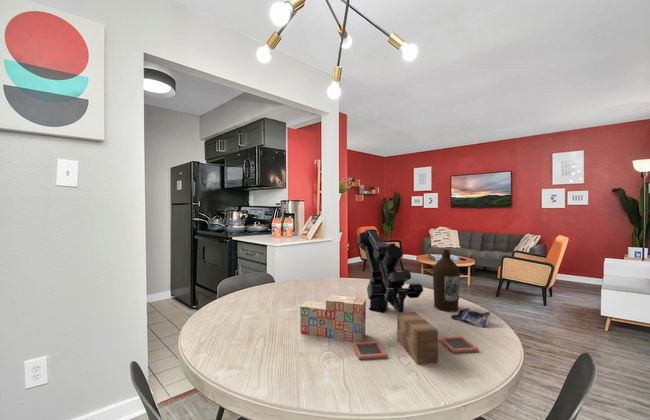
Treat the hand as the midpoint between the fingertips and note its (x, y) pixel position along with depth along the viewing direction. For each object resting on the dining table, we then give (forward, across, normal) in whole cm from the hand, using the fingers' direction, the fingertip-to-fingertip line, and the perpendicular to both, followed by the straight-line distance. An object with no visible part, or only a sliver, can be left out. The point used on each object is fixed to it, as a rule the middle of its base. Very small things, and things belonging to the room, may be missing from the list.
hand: (401, 314), depth 93 cm
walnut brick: (+12, 0, -2) cm, 13 cm away
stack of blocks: (+2, -23, +8) cm, 24 cm away
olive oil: (-11, +29, +21) cm, 38 cm away
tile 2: (+12, +14, -2) cm, 18 cm away
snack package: (-1, +30, +11) cm, 32 cm away
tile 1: (+12, -14, -2) cm, 18 cm away
